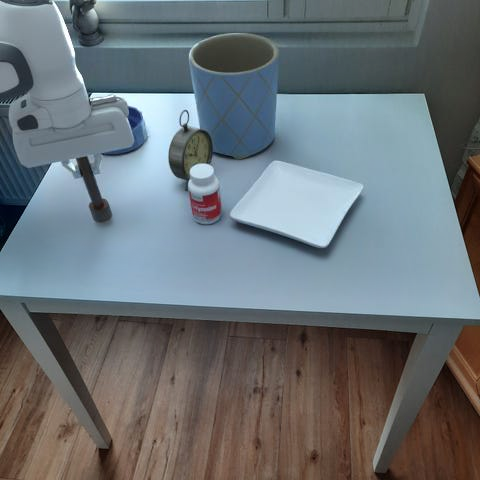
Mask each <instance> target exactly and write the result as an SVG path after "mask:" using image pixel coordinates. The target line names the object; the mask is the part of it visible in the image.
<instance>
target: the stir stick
mask: <svg viewBox="0 0 480 480" xmlns="http://www.w3.org/2000/svg"><path fill="white" fill-rule="evenodd" d="M74 160H75V161H76V165H78V167H79V169H80V172H81V175H82V180H83V182H84V185H85V187H86V191H87V193H88V196H89V199H90V202H89V204H88V209H89V213H90V214H91V217H92V219H93V221H94V222H96V223H100V224H101V223H106V222H108V221H110V220H111V219H112V218H113V211H112V208H111V206H110V205H111V204H110V203H109V201H108V199H106V198H103V196H102V194H101V191H100V187H99V184H98V182H97V179H96V175H93V171H92V169H91V164H90V163H91V162H90V161H91V160H90V158H89V156H85V157H80V158H75V159H74Z"/></svg>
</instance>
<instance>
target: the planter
mask: <svg viewBox="0 0 480 480" xmlns="http://www.w3.org/2000/svg"><path fill="white" fill-rule="evenodd" d="M279 60H280V50H279V47H278V45H277V44H276V43H275V42H274V41H272V40H271V39H269V38H267V37H265V36H261V35H259V34H255V33H254V34H252V33H245V32H236V33H235V32H234V33H224V34H217V35H214V36H211V37H208V38H205V39H204V40H201V41H199V42H198V43H196V44H194V46H193V47H192V48H191V49H190V51H189V53H188V64H189V69H190V75H191V82H192V88H193V96H194V101H195V107H196V114H197V119H198V125H199V129H204V130H206V131H207V132H208V133H209V135H210V137H211V139H212V144H213V153H216V154H220V155H224V156H228V157H229V156H230V157H233V158H234V159H236V160H242V159H246V158H248V157H251V156H253V155H255V154H257V153H259V152H262V151H263V150H264V149H266V148H268V146H269V145H271V144H272V143H273V141H274V139H275V134H276V133H275V132H276V115H277V101H278V100H277V99H278V85H279V84H278V83H279Z"/></svg>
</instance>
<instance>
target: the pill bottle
mask: <svg viewBox="0 0 480 480" xmlns="http://www.w3.org/2000/svg"><path fill="white" fill-rule="evenodd" d="M188 195H189V201H190V209H191V215H192V219H193V220H194V221H195V222H196V223H198V224H201V225H211V224H215V223H216V222H218V221H219V220H220V219H221V218H222V213H223V211H222V210H223V209H222V198H221V189H220V180H219V179H218V177H217V176H216V175H215V169H214V167H213V165H211V164H210V165H209V164H197V165H195V166H193V167H192V168H191V169H190V180H189V182H188Z"/></svg>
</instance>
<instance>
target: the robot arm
mask: <svg viewBox="0 0 480 480" xmlns="http://www.w3.org/2000/svg"><path fill="white" fill-rule="evenodd" d="M68 31H69V30H68V29H67V26H66V24H65V21H64V18H63V16H62V14H61V12H60V10H59V8H58V6H57V4H56V3H55V1H53V0H0V103H3V102H6V101H9V100H12V99H15V98H17V97H19V98H17V99H15V100H13V101H12V102H11V103H10V104H9V108H8V121H9V125H10V128H11V130H12V143H13V147H14V151H15V154H16V156H17V159H18V161H19V163H20V164H21V165H23V166H24V167H25V168H27V169H31V168H37V167H40V166H45V165H51V164H55V163H61V166H62V167H63V168H65V169H66V170H67V171H68V172H70V173H71V174H72V176H73V179H74V180H78V179H83V177H82V175H81V172H80V169H79V167H78V164H76V165H74V164H73V163H72V162H71V161H70V160H76V159H75V158H80V157H85V156H88V157H90V156H93V158H94V161H91V162H90V164H91V169H92V171H93V175H94V176H96V175H101V174H102V170H101V167H100V166H101V164H102V159H103V154H104V153H105V152H109V151H114V150H119V149H124V148H129V147H132V145H133V143H134V137H133V133H132V130H131V127H130V124H129V121H128V119H127V117H128V115H129V109H128V106H129V104H128V102H127V100H126V99H125V98H124V97H122V96H120V95H116V94H114V93H112V94H108V95H103V96H96V97H90V98H89V94H88V92H87V88H86V86H85V85H86V84H85V82H84V79H83V76H82V74H81V73H80V72H79V70H78V68H77V65H76V53H75V50H74V46H73V43H72V39H71V37H70V34H69V32H68ZM20 96H21V97H20Z"/></svg>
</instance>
